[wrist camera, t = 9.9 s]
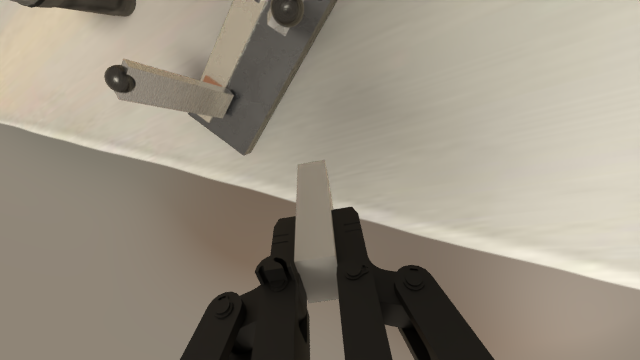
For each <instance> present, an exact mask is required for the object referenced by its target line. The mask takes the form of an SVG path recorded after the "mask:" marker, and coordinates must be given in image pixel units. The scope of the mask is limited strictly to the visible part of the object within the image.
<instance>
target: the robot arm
mask: <svg viewBox="0 0 640 360" xmlns="http://www.w3.org/2000/svg"><path fill="white" fill-rule="evenodd" d="M272 240H273V241H272V248H271V255H270V256H269V257H267V258H265V259H264V260H262V261H261V262H260V264H259V265H258V266H257V268H256V270H255V273H256V275H257V277H258V280H259V281H260V284H261V285H260V286H258V287H257V288H255V289H254V290H252V291H250V292H247V293H245V294H243V295H241V296H239V295H238V294H237V293H234V292H225V293H223V294H221V295H218V296H217V297H216V298H215V299H214V300H213V301H212V302H211V303H210V304H209V306H208V307H207V309H206V311H205V313H204V315H203V317H202V319H201V321H200V323H199V324H198V327H197V328H196V330H195V332H194V334H193V336H192V338H191V340H190V342H189V344H188V345H187V347H186V349H185V351H184V353H183V355H182V357H181V359H180V360H310V334H309V333H310V332H309V314H308V310H307V300H308V302H309V303H314V302H321V301H328V300H336V299H339V304H340V315H341V324H342V334H343V344H344V353H345V360H392V355H391V351H390V347H389V342H388V338H387V334H386V329H385V325H390V326H395V327H398V329H399V331H400V333H401V335H402V336H403V339H404V340H405V342H406V344H407V346H408V348H409V350H410V352H411V354H412V356H413V357H414V359H415V360H494V358H493V357H492V356H491V354H490V353H489V352H488V350H487V349H486V348H485V346H484V345H483V344H482V342H481V341H480V340H479V338H478V337H477V336H476V334H475V333H474V331H473V330H472V329H471V327H470V326H469V325H468V324H467V322H466V321H465V319H464V318H463V317H462V315H461V314H460V313H459V311H458V310H457V309H456V307H455V306H454V305H453V303H452V302H451V301H450V299H449V298H448V297H447V295H446V294H445V293H444V291H443V290H442V289H441V287H440V286H439V285H438V283H437V282H436V281H435V279H434V278H433V277H432V276H431V274H430V273H429V272H428V271H427V270H426V269H423V268H422V267H419V266H414V265H408V266H404V267H402V268H400V269H399V270H398V271H397V272H394V271H388V270H383V269H380V268H378V267H376V266H375V265H373V264H372V263H371V261H370V260H369V258H368V255H367V251H366V247H365V242H364V238H363V233H362V229H361V225H360V220H359V216H358V213H357V212H356V211H355V210H354V208H353V207H347V208H341V209H334V210H333V203H332V196H331V191H330V186H329V180H328V175H327V170H326V165H325V160H322V161H316V162H310V163H304V164H298V173H297V199H296V216H294V217H289V218H282V219H279V220H278V222H277V223H276V225H275V227H274V231H273V239H272ZM384 324H385V325H384Z"/></svg>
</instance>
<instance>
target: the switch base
mask: <svg viewBox="0 0 640 360" xmlns="http://www.w3.org/2000/svg"><path fill="white" fill-rule="evenodd" d="M336 1H337V0H304V1H303V4H304V14H303V17H302V19H301V21H300V22H299V23H298V24H297V25H296V26H294V27H290V28H289V30H288V32H287V34H286V36H284V35H282V34H281V33H279V32H278V31H276V30H275V29H273V28H272V27H270V26H269V25H267V13H268V11H269V9H270V7H271V0H234V1H233V3H232V5H231V8H230V10H229V12H228V15H227V17H226V20H225V22H224V24H223V27H222V29H221V32H220V34H219V36H218V39H217V41H216V43H215V46H214V48H213V51H212V53H211V55H210V58H209V60H208V62H207V65H206V67H205V70H204V72H203V74H202V77H201V79H200V81H203V82H206V83H210V84H213V85H217V86H220V87H223V88H227V89H229V90H230V92H231V93H232V94H233V95H234V97H233V99H232V101H231V103H230V105H229V107H228V109H227V111H226V113H225V115H224V117H223V119H222V118H217V117H211V116H206V115H201V114H195V113H190V112H189V113H188V114H189V115H190V116H191V117H193V118H194V119H195V120H197V121H198V122H199V123H201V124H202V125H203V126H205V127H206V128H207V129H209V130H210V131H211V132H213V133H214V134H215V135H217V136H218V137H220V138H221V139H222V140H224V141H225V142H226V143H228V144H229V145H230V146H232V147H233V148H234V149H236V150H237V151H238V152H240V153H241V154H242V155H247V154H249V153H251V151H252V149H253V148H254V146H255V144H256V142H257V141H258V139H259V137H260V135H261V134H262V132H263V130H264V128H265V127H266V125H267V123H268V121H269V119H270V118H271V116H272V114H273V112H274V111H275V109H276V107H277V105H278V104H279V102H280V100H281V98H282V97H283V95H284V93H285V91H286V90H287V88H288V86H289V84H290V82H291V81H292V79H293V77H294V75H295V74H296V72H297V70H298V68H299V67H300V65H301V63H302V61H303V60H304V58H305V56H306V54H307V53H308V51H309V49H310V47H311V45H312V44H313V42H314V40H315V38H316V37H317V35H318V33H319V31H320V30H321V28H322V26H323V24H324V23H325V21H326V19H327V17H328V16H329V14H330V12H331V10H332V8H333V7H334V5H335V3H336Z"/></svg>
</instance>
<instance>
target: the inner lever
mask: <svg viewBox="0 0 640 360" xmlns="http://www.w3.org/2000/svg"><path fill="white" fill-rule="evenodd" d="M303 1H304V0H271V7H270V9H269V11H268V13H267V25H269V26H270V27H272V28H273V29H275V30H276V31H278V32H279V33H281V34H282V35H284V36H286V34H287V32H288V30H289V28H290V27H294V26H296V25H297V24H298V23H299V22H300V21H301V19H302V17H303V14H304V4H303Z"/></svg>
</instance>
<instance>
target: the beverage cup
mask: <svg viewBox="0 0 640 360" xmlns="http://www.w3.org/2000/svg"><path fill="white" fill-rule="evenodd" d="M11 1H14V2H18V3H19V4H21V5H24V6H28V7H31V8H32V7H45V8H52V7H58V8H65V9H72V10H79V11H86V12H93V13H100V14H107V15H114V16H115V15H118V16H129V15H130V14H132V12H133V11H134V9H135V5H136V0H11Z"/></svg>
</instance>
